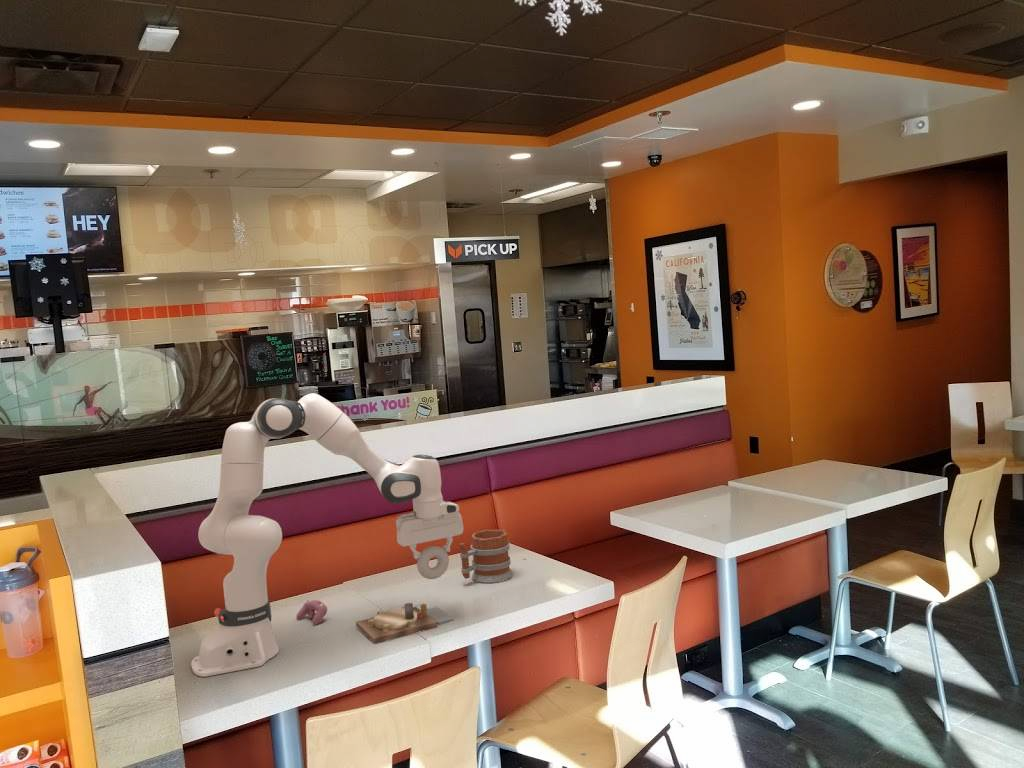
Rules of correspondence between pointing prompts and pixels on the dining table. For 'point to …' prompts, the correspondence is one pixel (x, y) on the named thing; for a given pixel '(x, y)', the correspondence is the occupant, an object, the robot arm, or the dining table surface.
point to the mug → (487, 557)
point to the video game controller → (313, 611)
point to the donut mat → (439, 615)
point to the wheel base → (380, 635)
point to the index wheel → (396, 618)
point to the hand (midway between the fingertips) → (432, 555)
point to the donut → (441, 564)
